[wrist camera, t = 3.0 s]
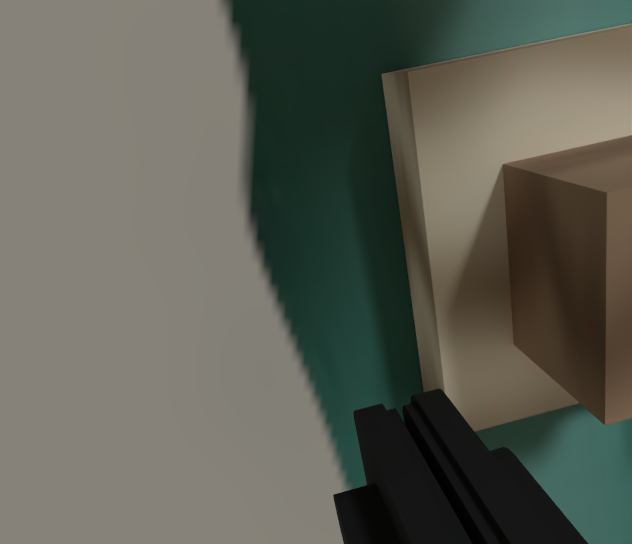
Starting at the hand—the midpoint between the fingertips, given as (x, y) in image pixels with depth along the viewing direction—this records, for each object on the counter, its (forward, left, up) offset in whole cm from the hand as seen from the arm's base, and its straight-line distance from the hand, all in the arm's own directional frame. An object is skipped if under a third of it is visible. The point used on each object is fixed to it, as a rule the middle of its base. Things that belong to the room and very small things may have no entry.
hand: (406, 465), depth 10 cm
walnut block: (-1, +9, -7) cm, 11 cm away
